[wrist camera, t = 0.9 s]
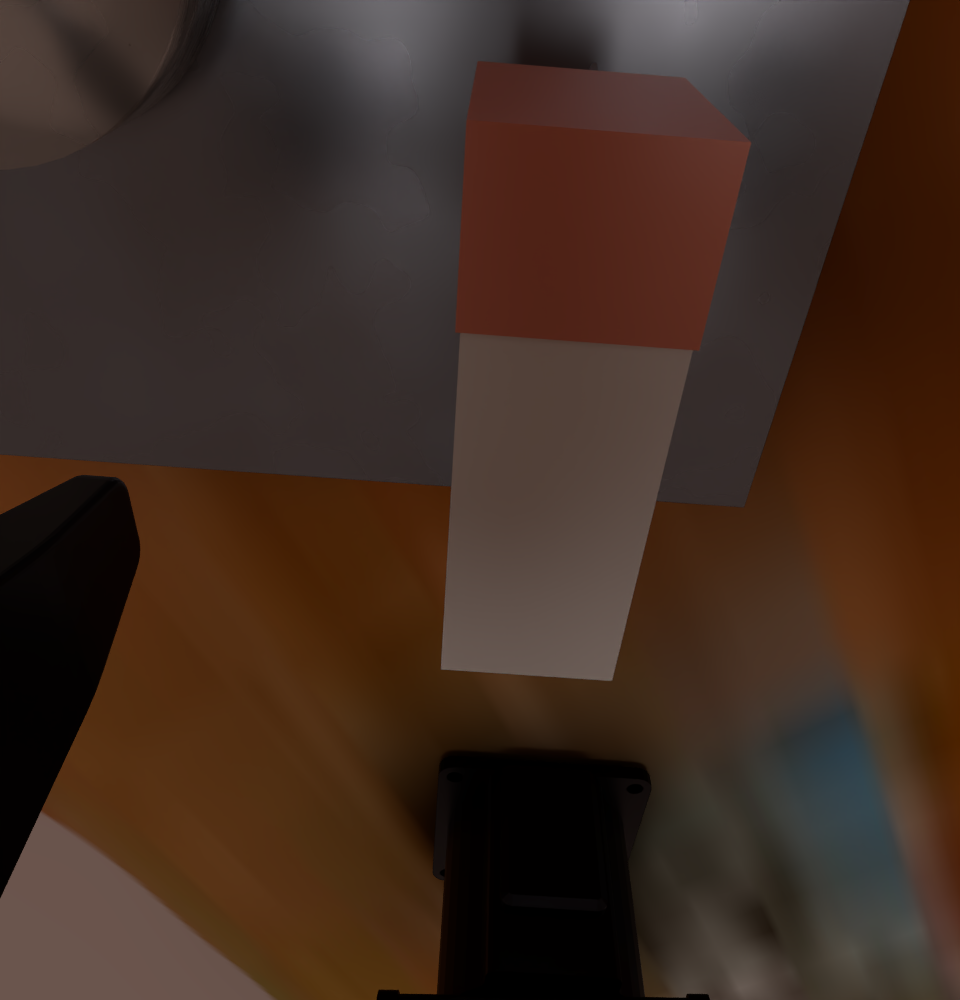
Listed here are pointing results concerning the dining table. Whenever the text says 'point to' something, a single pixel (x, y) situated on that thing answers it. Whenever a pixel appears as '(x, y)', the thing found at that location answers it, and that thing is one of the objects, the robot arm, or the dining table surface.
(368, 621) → the dining table surface
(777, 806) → the dining table surface
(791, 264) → the grey board
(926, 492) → the dining table surface
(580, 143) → the red and white block
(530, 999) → the robot arm
